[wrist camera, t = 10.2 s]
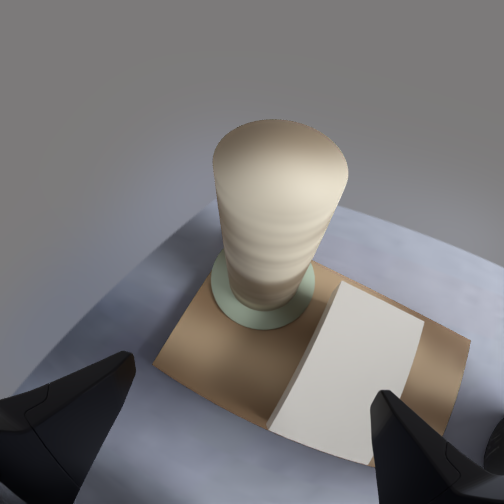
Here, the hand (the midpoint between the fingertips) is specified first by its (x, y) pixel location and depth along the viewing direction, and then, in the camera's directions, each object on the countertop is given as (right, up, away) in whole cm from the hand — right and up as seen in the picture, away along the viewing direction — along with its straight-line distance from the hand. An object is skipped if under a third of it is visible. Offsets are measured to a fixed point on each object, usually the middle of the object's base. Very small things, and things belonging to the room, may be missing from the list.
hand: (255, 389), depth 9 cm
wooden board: (+6, -3, +9) cm, 11 cm away
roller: (+1, +3, +10) cm, 11 cm away
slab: (+5, -4, +8) cm, 10 cm away
